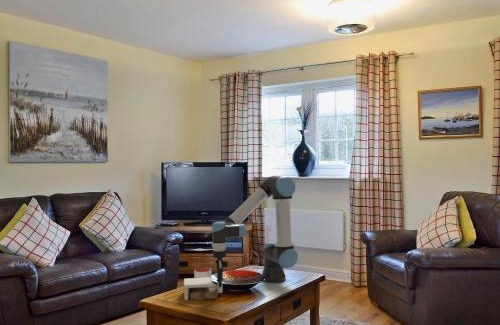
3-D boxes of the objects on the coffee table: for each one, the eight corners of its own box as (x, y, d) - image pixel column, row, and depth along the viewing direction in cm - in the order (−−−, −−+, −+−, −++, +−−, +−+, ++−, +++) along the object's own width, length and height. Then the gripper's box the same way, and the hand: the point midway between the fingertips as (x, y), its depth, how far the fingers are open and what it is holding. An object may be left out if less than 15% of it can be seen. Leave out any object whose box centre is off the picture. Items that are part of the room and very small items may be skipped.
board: (216, 294, 260) (216, 287, 260) (217, 299, 251) (217, 291, 251) (189, 295, 258) (189, 288, 258) (190, 300, 249) (189, 293, 249)
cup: (210, 289, 268) (210, 272, 268) (193, 289, 269) (193, 272, 269) (212, 284, 278) (212, 268, 278) (195, 284, 279) (195, 268, 279)
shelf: (210, 291, 264) (210, 277, 264) (212, 298, 250) (212, 283, 250) (184, 292, 262) (184, 278, 262) (184, 300, 248) (184, 285, 248)
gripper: (211, 248, 263) (212, 289, 263) (213, 252, 250) (214, 296, 250) (225, 247, 264) (225, 288, 264) (227, 252, 251) (227, 295, 251)
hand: (220, 292), depth 257 cm, fingers closed
